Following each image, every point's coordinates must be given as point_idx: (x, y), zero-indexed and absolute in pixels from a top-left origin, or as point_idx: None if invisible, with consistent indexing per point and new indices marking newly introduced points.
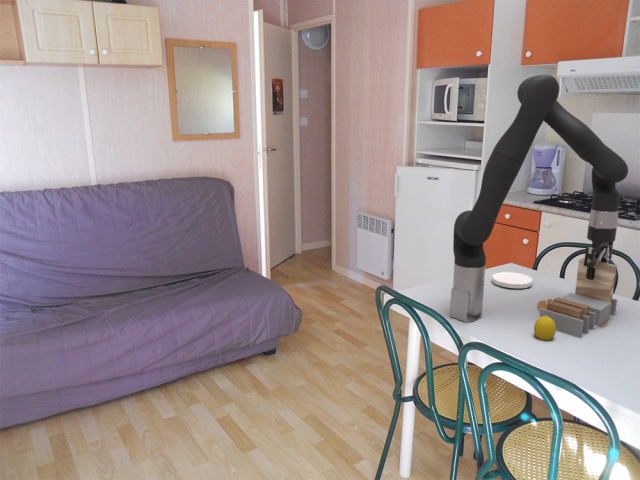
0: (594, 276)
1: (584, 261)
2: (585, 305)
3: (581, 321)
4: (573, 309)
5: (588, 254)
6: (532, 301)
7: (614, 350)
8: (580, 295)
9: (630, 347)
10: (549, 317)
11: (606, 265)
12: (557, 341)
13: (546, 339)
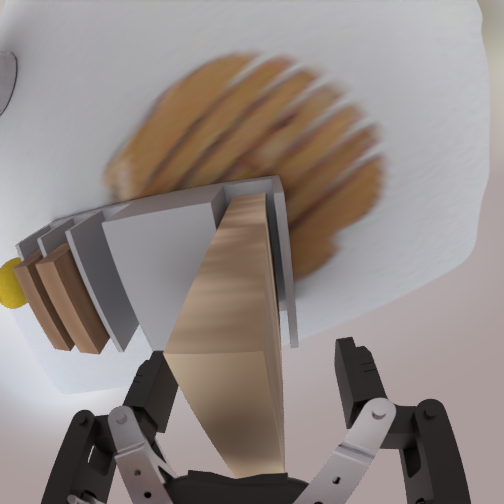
0: (172, 391)
1: (67, 434)
2: (91, 346)
3: None
4: (48, 334)
5: (69, 485)
6: (204, 43)
7: (129, 360)
8: None
9: None
10: (4, 302)
11: (229, 465)
12: None
13: None
